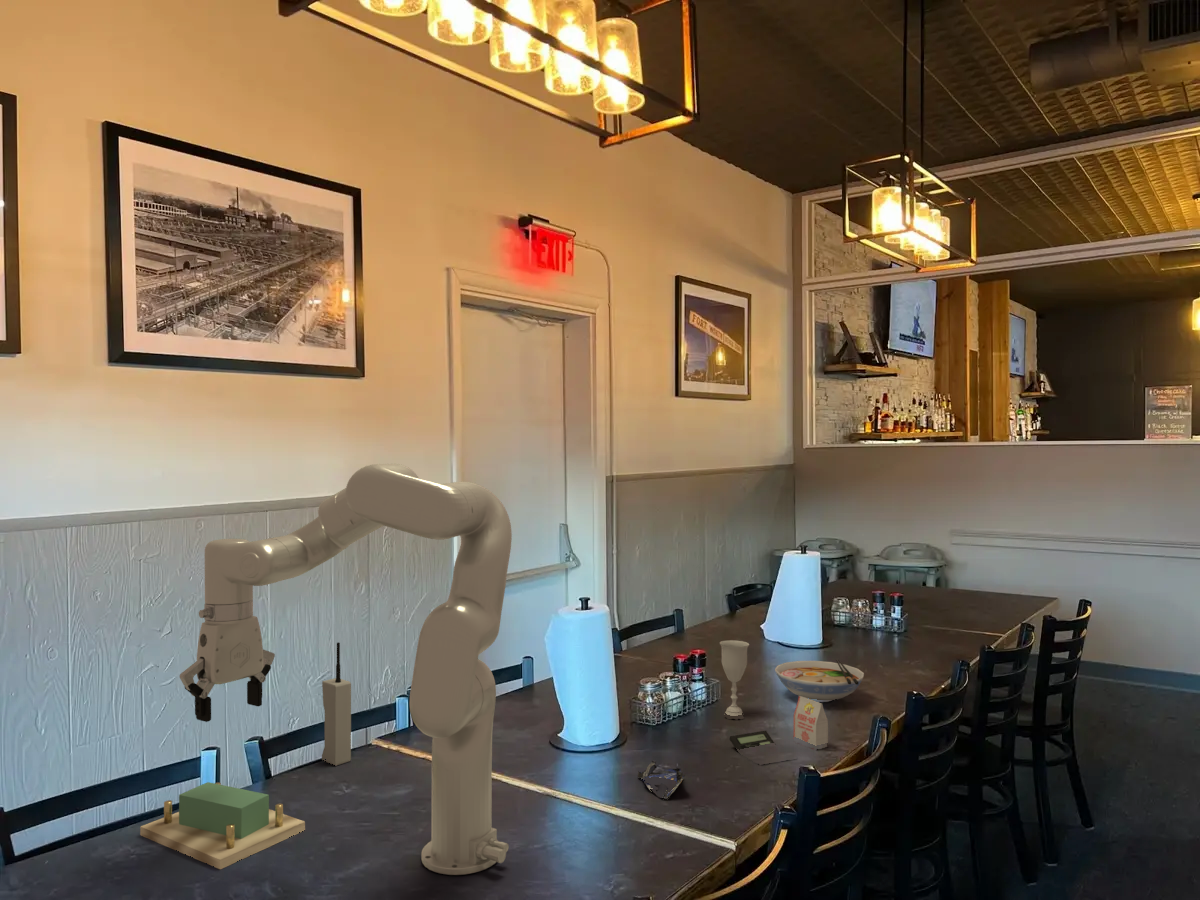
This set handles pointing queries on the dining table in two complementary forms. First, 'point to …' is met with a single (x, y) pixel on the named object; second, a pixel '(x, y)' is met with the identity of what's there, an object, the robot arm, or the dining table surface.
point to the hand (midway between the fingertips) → (229, 712)
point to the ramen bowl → (819, 679)
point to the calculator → (751, 739)
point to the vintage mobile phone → (337, 718)
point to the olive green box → (224, 809)
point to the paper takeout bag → (810, 722)
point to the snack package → (662, 775)
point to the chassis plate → (220, 837)
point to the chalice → (734, 668)
